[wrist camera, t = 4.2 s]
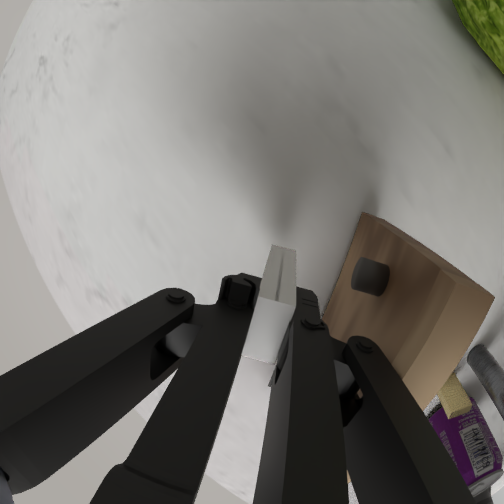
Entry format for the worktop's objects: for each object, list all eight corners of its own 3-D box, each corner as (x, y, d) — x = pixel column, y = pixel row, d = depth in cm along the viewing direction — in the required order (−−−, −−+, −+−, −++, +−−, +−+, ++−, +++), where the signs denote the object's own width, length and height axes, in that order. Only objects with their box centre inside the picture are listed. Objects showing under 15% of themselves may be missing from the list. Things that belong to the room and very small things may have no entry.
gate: (310, 387, 22) (306, 512, 10) (278, 380, 22) (258, 507, 10) (384, 219, 17) (495, 297, 5) (345, 206, 17) (425, 271, 6)
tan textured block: (452, 379, 20) (469, 411, 16) (432, 385, 21) (448, 419, 16) (454, 372, 20) (472, 404, 15) (434, 378, 21) (451, 412, 16)
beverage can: (410, 427, 23) (431, 510, 12) (455, 386, 21) (494, 469, 9) (441, 435, 23) (463, 505, 12) (481, 398, 21) (515, 467, 9)
